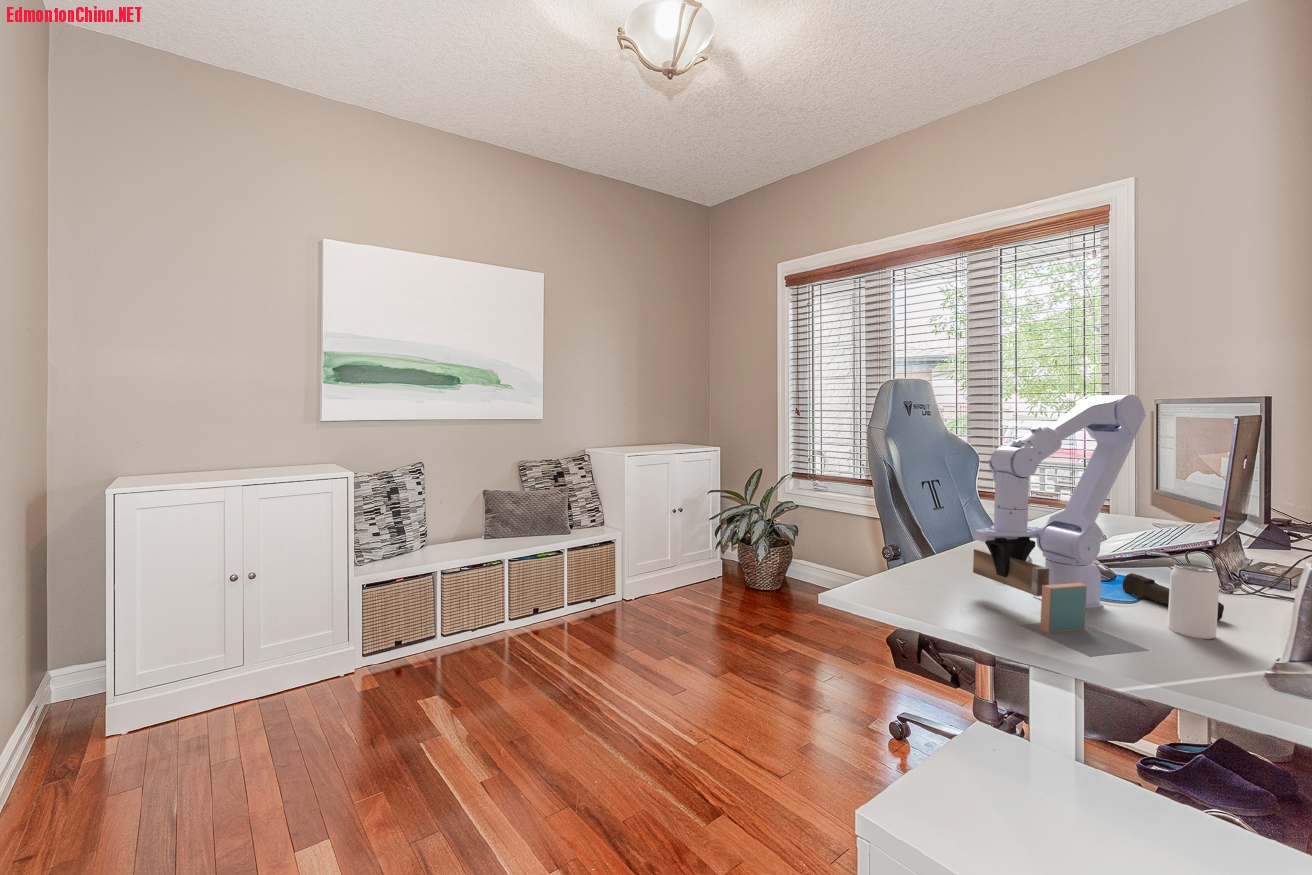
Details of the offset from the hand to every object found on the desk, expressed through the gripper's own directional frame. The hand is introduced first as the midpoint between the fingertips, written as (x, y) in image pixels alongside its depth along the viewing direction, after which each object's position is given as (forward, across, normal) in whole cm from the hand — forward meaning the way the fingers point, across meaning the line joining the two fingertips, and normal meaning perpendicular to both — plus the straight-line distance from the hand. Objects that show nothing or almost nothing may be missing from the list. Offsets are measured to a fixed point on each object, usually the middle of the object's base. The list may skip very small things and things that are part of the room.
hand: (1008, 575), depth 119 cm
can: (+7, -22, +18) cm, 29 cm away
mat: (+7, 0, +16) cm, 17 cm away
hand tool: (+7, -33, +5) cm, 34 cm away
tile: (+6, 0, +12) cm, 14 cm away
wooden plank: (+2, 0, 0) cm, 2 cm away
